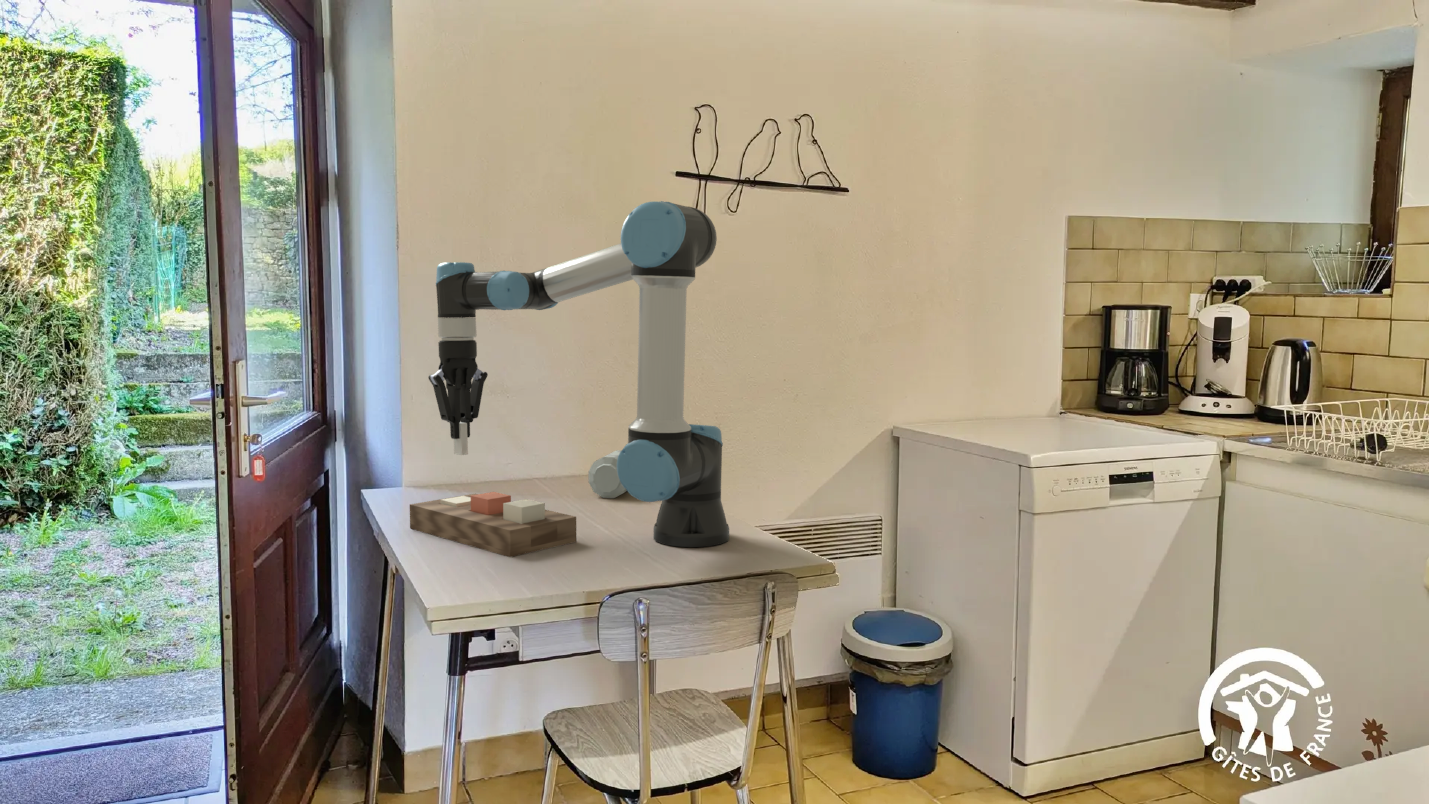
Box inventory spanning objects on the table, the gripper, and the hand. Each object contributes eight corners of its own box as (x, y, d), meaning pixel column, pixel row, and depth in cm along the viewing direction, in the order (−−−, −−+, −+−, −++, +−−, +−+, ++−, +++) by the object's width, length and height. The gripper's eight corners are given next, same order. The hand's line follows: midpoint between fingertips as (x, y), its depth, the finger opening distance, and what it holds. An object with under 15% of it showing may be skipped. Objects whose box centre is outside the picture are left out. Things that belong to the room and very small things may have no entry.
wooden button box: (576, 541, 195) (576, 516, 194) (510, 557, 183) (509, 530, 182) (475, 516, 216) (474, 493, 216) (410, 528, 204) (409, 504, 204)
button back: (479, 520, 207) (479, 499, 206) (456, 525, 202) (456, 503, 202) (463, 516, 210) (463, 495, 210) (440, 521, 206) (440, 499, 206)
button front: (544, 526, 193) (544, 503, 192) (521, 530, 189) (521, 507, 188) (526, 521, 196) (526, 499, 196) (503, 526, 192) (503, 503, 192)
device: (626, 500, 235) (626, 458, 234) (586, 498, 237) (586, 456, 236) (659, 479, 265) (660, 442, 264) (623, 477, 267) (624, 440, 266)
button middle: (511, 517, 200) (510, 495, 199) (488, 522, 195) (487, 499, 195) (493, 513, 203) (493, 491, 203) (470, 517, 199) (470, 495, 199)
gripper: (473, 337, 210) (476, 449, 212) (418, 339, 200) (422, 456, 202) (495, 338, 205) (498, 452, 207) (440, 340, 195) (444, 459, 197)
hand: (461, 454), depth 205 cm, fingers closed
